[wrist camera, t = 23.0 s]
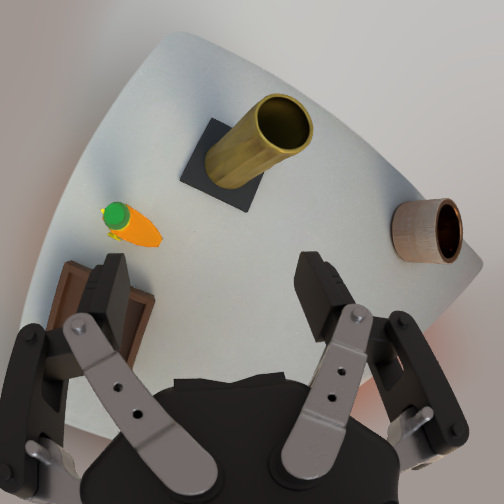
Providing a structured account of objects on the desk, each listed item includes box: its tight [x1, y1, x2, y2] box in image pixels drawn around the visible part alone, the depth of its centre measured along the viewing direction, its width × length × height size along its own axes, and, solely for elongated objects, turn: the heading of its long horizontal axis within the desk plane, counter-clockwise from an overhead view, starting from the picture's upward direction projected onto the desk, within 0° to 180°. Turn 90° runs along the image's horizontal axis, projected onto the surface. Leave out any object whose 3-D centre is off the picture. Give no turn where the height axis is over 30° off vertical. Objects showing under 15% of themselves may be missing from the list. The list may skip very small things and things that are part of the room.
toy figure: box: [101, 202, 163, 247], centre depth 25 cm, size 7×4×12 cm, turn 61°
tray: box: [46, 260, 155, 369], centre depth 28 cm, size 11×11×3 cm
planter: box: [392, 198, 463, 264], centre depth 43 cm, size 11×11×10 cm
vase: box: [205, 94, 313, 189], centre depth 27 cm, size 6×6×14 cm
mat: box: [180, 118, 265, 212], centre depth 34 cm, size 9×9×1 cm
